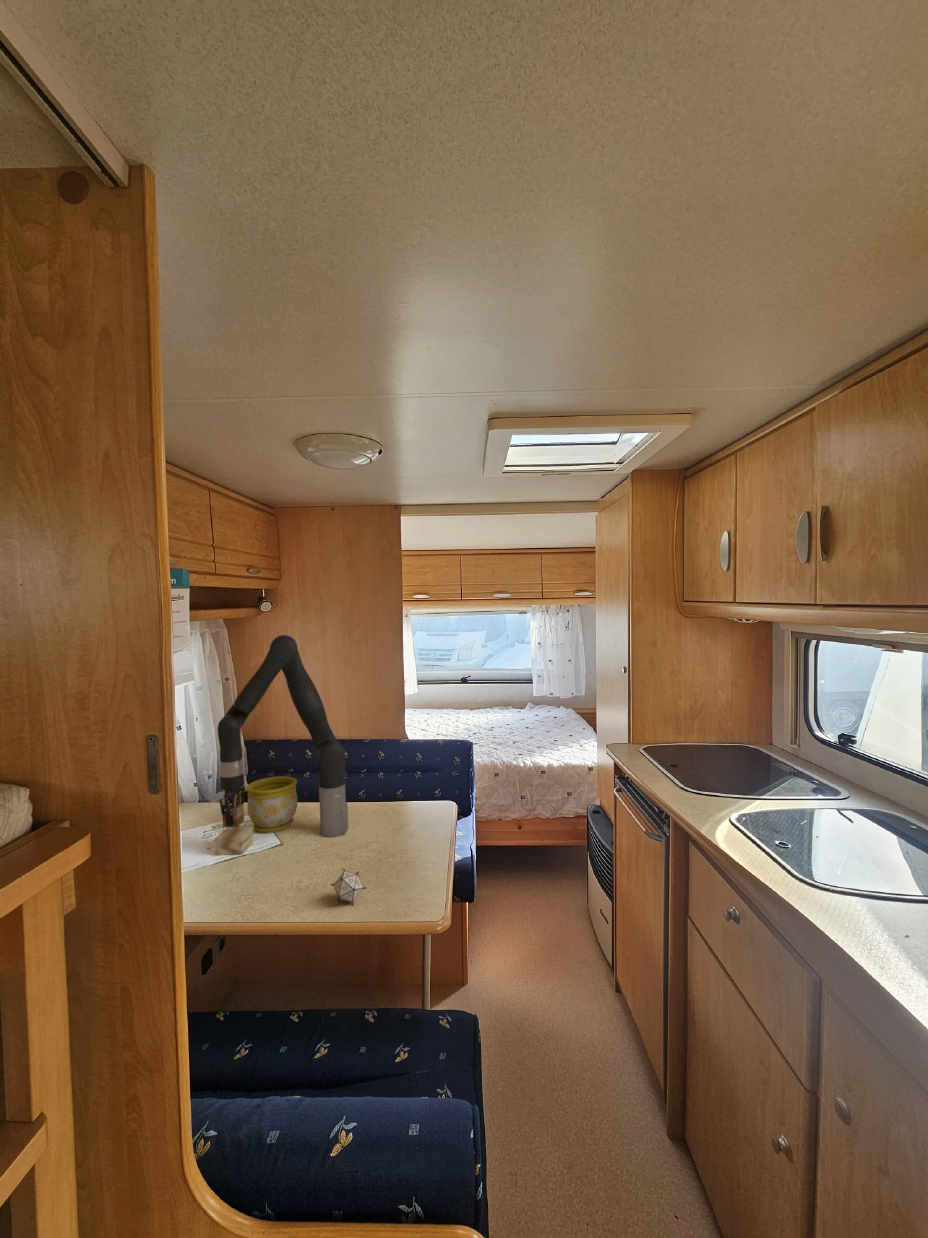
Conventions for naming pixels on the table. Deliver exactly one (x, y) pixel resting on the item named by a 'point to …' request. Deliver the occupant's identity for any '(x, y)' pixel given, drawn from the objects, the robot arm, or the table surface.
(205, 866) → the table surface
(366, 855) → the table surface
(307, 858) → the table surface
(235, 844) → the oak box
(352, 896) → the game die
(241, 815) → the walnut block
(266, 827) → the flowerpot
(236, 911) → the table surface
